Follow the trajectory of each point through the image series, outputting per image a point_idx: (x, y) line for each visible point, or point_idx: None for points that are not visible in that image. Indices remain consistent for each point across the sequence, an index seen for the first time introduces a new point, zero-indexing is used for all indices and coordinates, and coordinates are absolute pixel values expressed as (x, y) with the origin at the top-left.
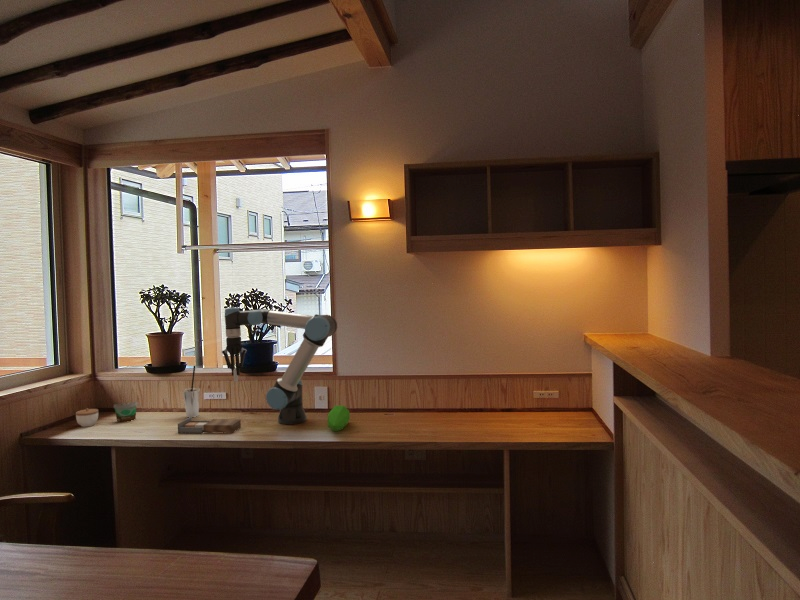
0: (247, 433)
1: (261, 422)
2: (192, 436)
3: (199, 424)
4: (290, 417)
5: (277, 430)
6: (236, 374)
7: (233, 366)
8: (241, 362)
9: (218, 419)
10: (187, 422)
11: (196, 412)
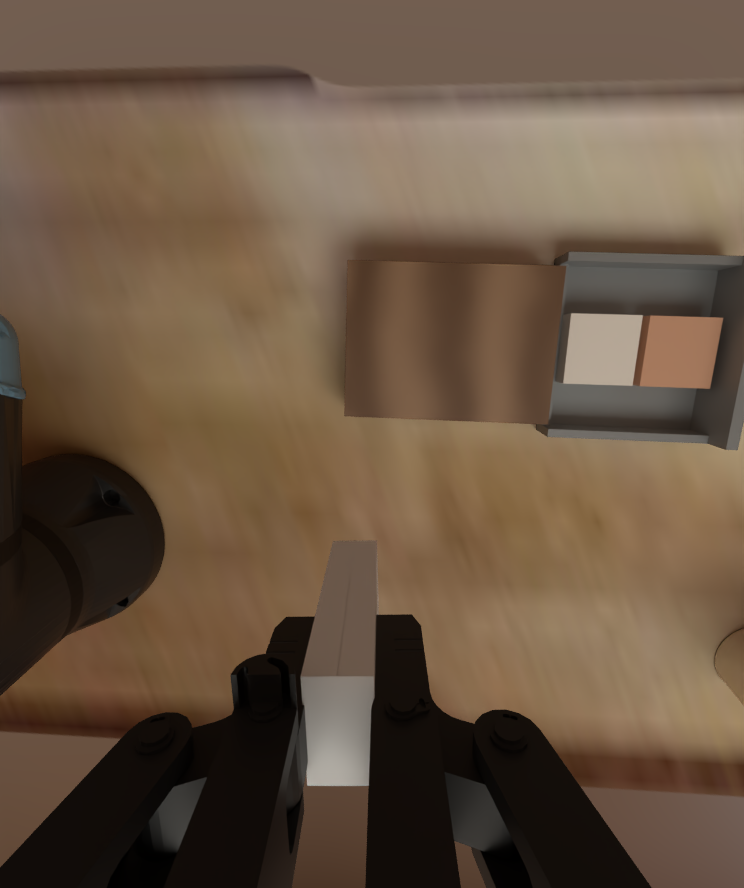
0: (252, 262)
1: (256, 507)
2: (597, 189)
3: (613, 332)
4: (31, 471)
5: (90, 329)
6: (318, 610)
7: (370, 767)
8: (23, 884)
9: (504, 419)
10: (721, 381)
11: (739, 661)
